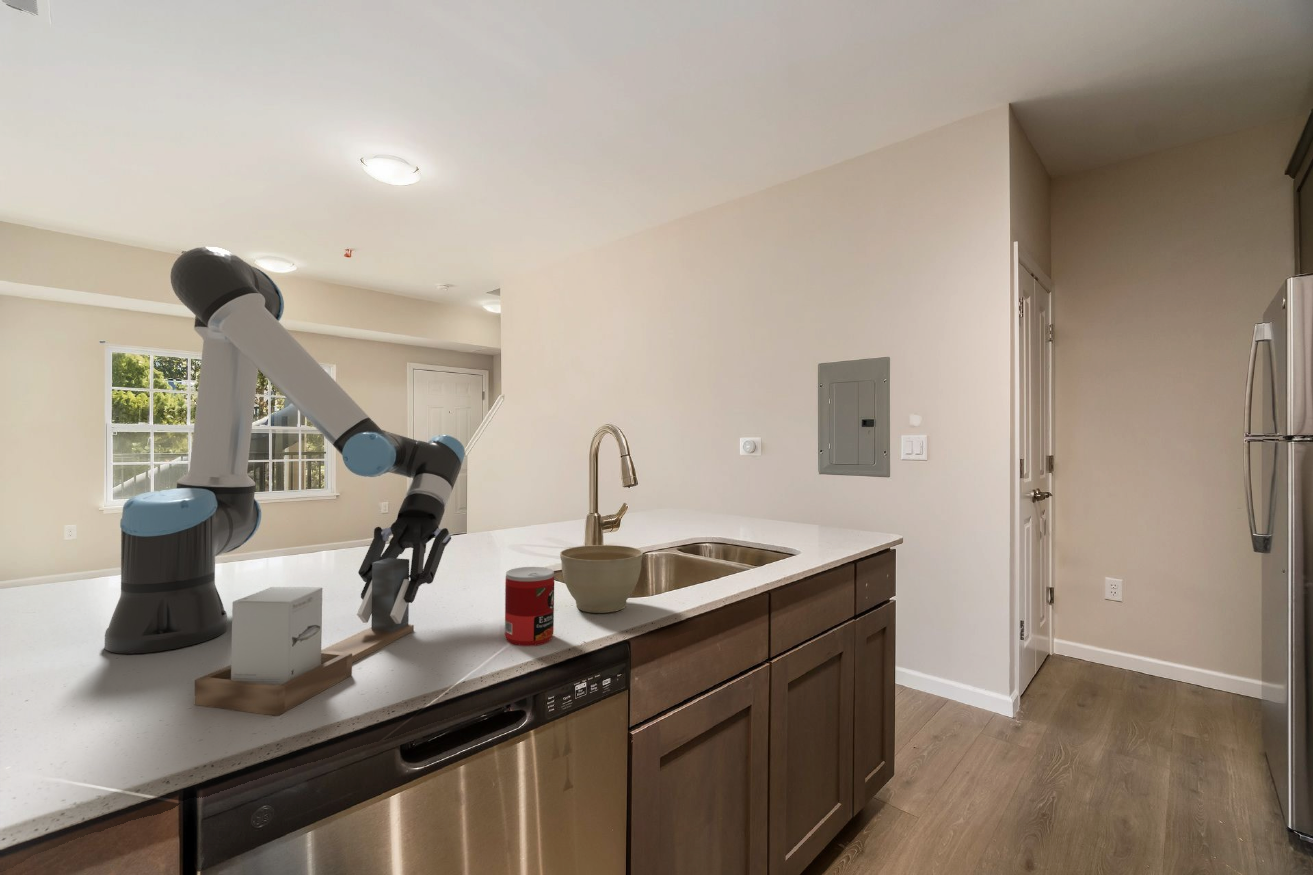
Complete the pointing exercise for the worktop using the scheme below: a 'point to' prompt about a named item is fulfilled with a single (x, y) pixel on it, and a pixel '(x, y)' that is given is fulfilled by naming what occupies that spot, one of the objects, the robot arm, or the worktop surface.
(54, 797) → the worktop surface
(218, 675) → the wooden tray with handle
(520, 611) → the canned food
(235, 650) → the supplement box
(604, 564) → the planter bowl
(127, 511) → the robot arm
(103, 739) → the worktop surface
